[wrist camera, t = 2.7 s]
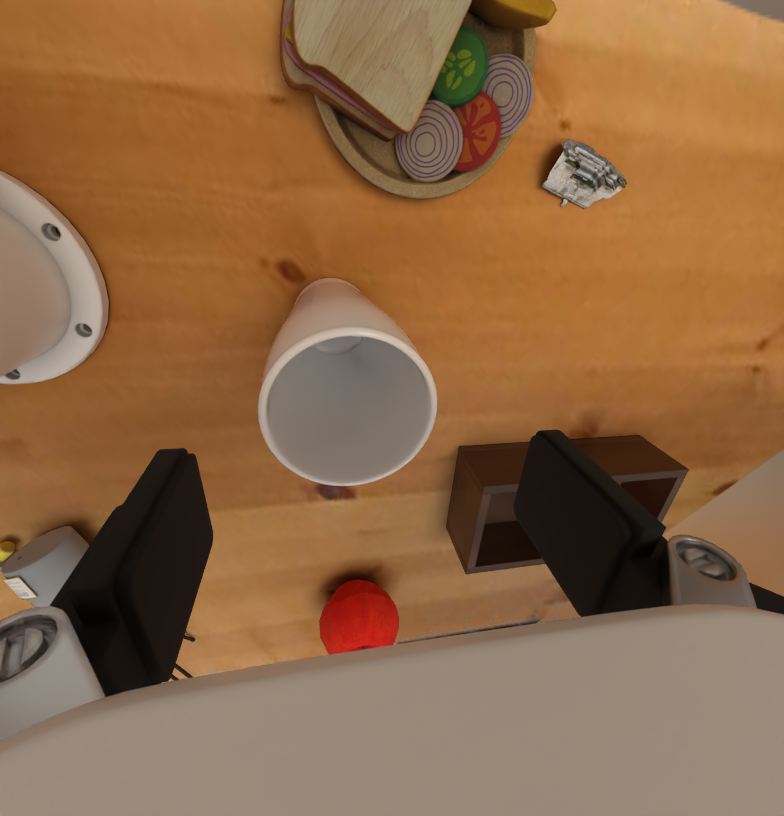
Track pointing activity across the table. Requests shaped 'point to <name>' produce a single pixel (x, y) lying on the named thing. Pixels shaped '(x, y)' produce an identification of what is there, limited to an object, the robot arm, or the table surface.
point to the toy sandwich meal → (416, 83)
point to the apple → (358, 618)
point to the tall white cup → (344, 389)
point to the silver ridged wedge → (583, 176)
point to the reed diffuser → (46, 567)
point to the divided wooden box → (498, 482)
